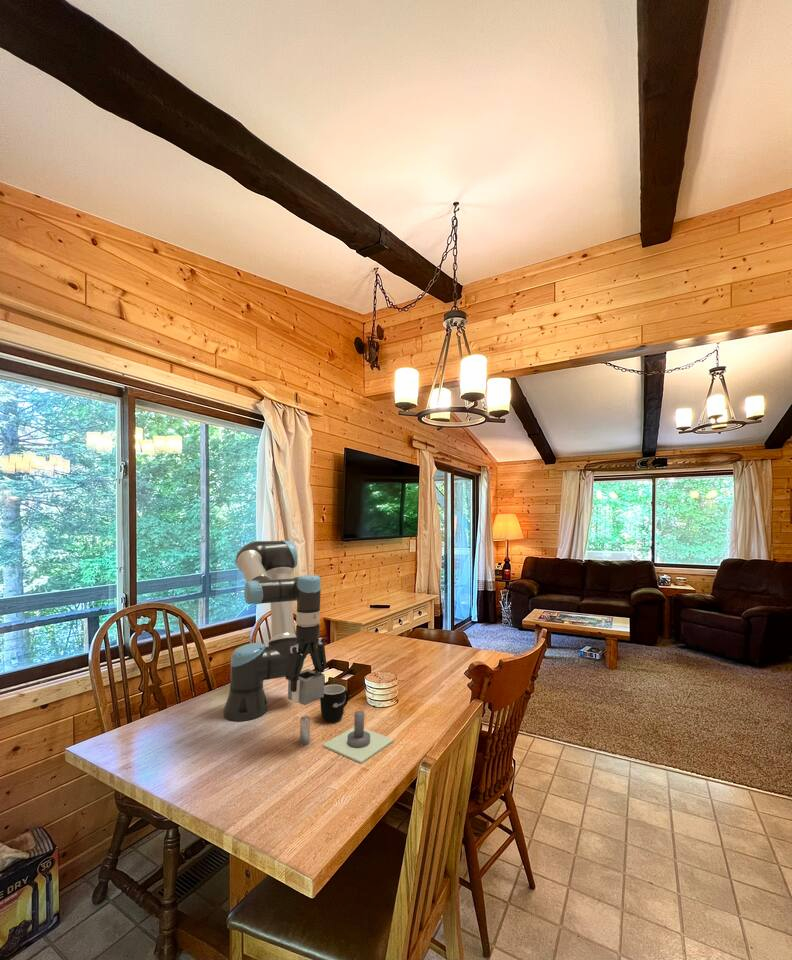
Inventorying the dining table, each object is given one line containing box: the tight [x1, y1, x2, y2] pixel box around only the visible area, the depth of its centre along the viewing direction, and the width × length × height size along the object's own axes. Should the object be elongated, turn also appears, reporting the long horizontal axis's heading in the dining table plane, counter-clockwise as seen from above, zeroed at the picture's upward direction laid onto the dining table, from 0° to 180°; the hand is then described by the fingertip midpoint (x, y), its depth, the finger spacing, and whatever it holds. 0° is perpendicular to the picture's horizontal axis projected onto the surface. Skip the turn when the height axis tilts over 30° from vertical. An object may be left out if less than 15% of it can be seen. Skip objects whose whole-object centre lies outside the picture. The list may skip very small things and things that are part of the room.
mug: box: [319, 684, 349, 723], centre depth 156 cm, size 12×9×10 cm
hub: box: [322, 710, 395, 765], centre depth 138 cm, size 16×16×9 cm
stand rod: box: [299, 715, 311, 746], centre depth 138 cm, size 3×3×8 cm
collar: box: [287, 668, 325, 706], centre depth 139 cm, size 8×8×7 cm
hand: (306, 696), depth 139 cm, fingers closed on collar, 8 cm apart
